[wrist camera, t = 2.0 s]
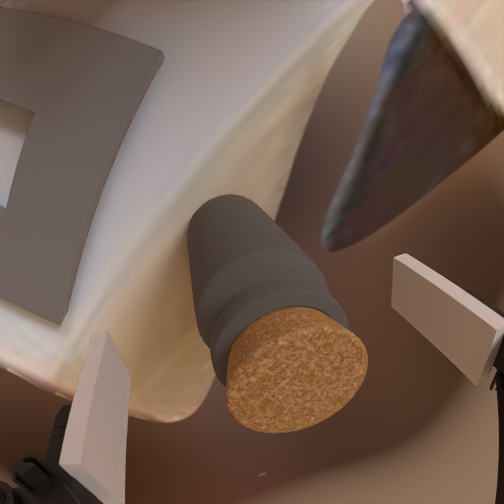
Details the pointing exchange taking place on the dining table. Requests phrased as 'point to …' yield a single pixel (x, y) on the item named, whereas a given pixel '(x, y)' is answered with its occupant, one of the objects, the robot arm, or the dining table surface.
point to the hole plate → (62, 145)
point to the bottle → (269, 320)
